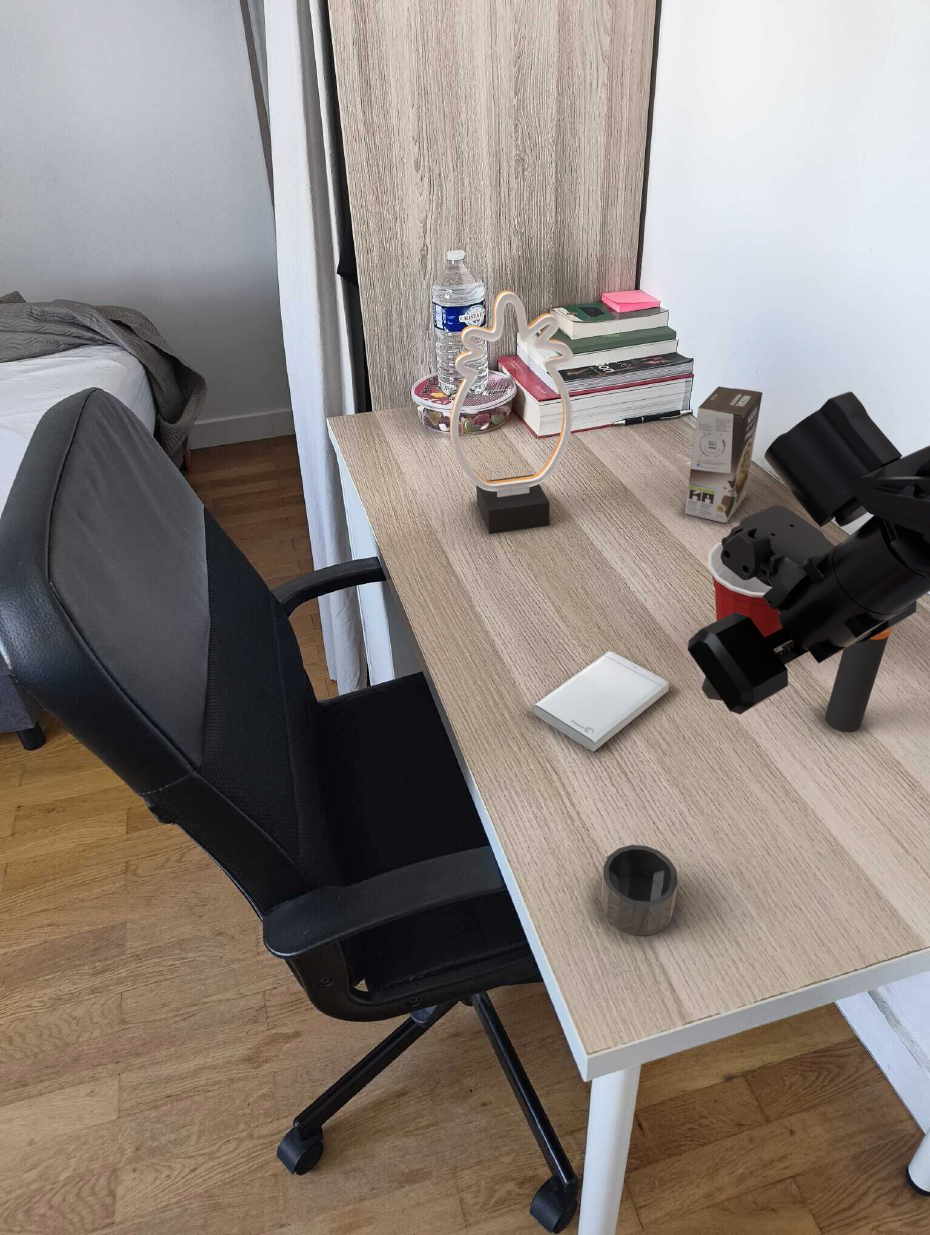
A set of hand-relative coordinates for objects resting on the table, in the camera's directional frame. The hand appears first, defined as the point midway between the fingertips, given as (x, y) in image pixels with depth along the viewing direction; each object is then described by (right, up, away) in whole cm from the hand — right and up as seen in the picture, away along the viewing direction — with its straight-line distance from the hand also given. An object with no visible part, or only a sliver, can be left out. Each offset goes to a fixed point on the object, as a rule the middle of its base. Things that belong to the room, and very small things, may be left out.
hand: (746, 670), depth 68 cm
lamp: (-16, +19, +54) cm, 60 cm away
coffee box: (+13, +20, +54) cm, 59 cm away
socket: (-9, -19, +1) cm, 21 cm away
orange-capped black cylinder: (+15, -6, +17) cm, 24 cm away
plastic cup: (+9, +1, +27) cm, 28 cm away
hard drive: (-8, -5, +21) cm, 23 cm away
